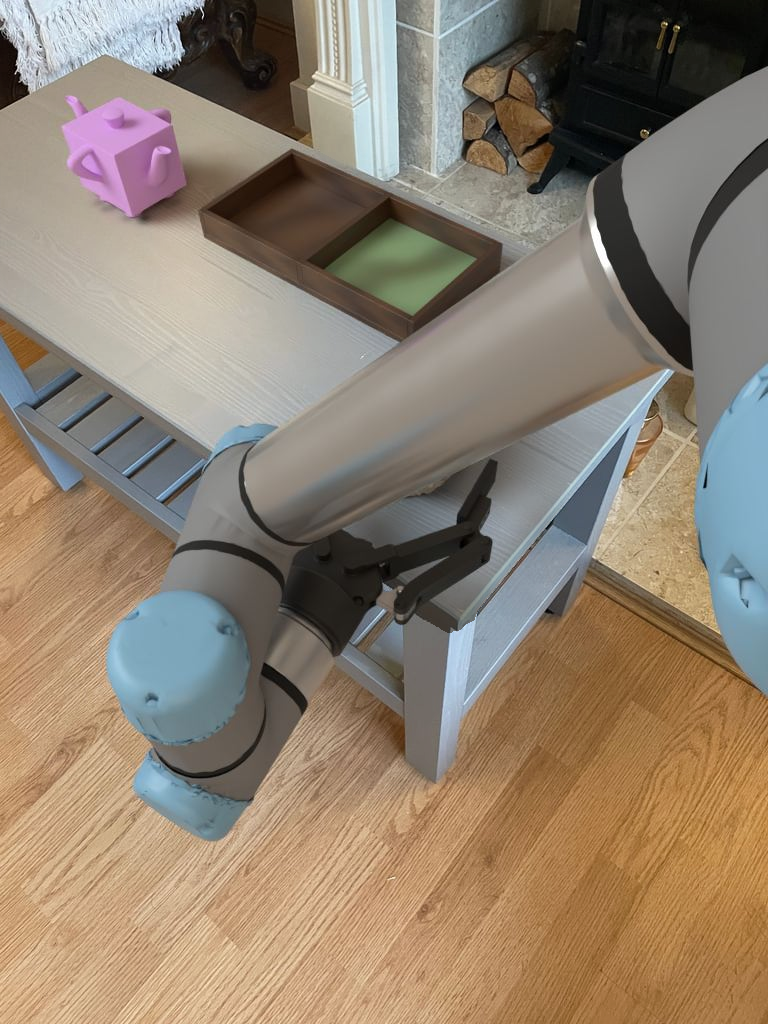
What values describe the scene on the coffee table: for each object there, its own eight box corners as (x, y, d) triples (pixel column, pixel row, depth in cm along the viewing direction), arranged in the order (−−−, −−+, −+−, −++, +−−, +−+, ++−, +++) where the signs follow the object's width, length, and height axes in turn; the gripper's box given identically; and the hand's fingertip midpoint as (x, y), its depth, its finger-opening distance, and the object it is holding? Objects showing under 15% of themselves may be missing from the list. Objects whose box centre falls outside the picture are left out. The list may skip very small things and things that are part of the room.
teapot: (203, 164, 108) (184, 82, 99) (188, 225, 100) (167, 142, 91) (90, 166, 108) (62, 84, 99) (67, 227, 101) (34, 144, 92)
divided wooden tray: (499, 271, 94) (503, 243, 91) (413, 349, 87) (413, 322, 84) (295, 175, 106) (291, 148, 103) (204, 237, 99) (197, 210, 96)
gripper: (174, 590, 68) (306, 421, 78) (442, 725, 60) (547, 519, 71) (151, 542, 61) (298, 366, 72) (446, 685, 54) (561, 466, 65)
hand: (422, 441), depth 71 cm, fingers open, 13 cm apart
